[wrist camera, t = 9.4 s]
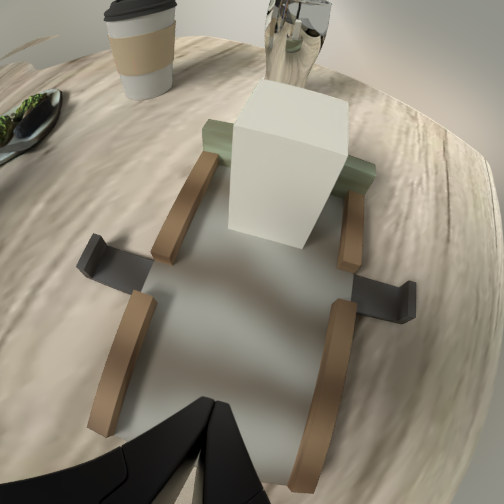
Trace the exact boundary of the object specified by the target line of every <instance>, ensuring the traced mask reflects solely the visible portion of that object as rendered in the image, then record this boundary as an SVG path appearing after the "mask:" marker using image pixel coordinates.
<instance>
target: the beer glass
mask: <svg viewBox="0 0 504 504" xmlns="http://www.w3.org/2000/svg"><path fill="white" fill-rule="evenodd" d="M331 5H332V3H330V2H329V1H327V0H270V3H269V7H268V12H267V17H266V23H265V53H266V74H265V78H264V79H265V80H270V81H275V82H279V83H284V84H288V85H292V86H296V87H300V88H304V89H306V83H307V79H308V76H309V73H310V71H311V69H312V67H313V65H314V63H315V61H316V59H317V57H318V55H319V53H320V50H321V48H322V45H323V43H324V40H325V37H326V33H327V29H328V24H329V18H330V11H331Z"/></svg>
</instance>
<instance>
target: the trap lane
mask: <svg viewBox="0 0 504 504" xmlns="http://www.w3.org/2000/svg"><path fill="white" fill-rule="evenodd" d="M233 125H234V124H232V123H227V122H222V121H217V120H211V119H208V121H207V122H206V124H205V125H204V127H203V128H202V137H203V152H202V153H201V155H200V157H199V159H198V160H197V162H196V164H195V166H194V167H193V169H192V171H191V173H190V175H189V176H188V178H187V180H186V182H185V184H184V186H183V187H182V189H181V191H180V193H179V195H178V197H177V199H176V201H175V203H174V205H173V206H172V208H171V210H170V212H169V214H168V216H167V218H166V220H165V222H164V224H163V226H162V228H161V230H160V233H159V235H158V237H157V239H156V241H155V243H154V245H153V247H152V249H151V254H152V256H153V258H154V261H152V260H149V259H146V258H143V257H140V256H137V255H134V254H131V253H128V252H125V251H122V250H119V249H116V248H113V247H110V246H107V244H106V243H105V241H104V240H103V238H102V237H101V236H100V235H97V234H94V233H93V235H92V236H91V238H90V240H89V242H88V244H87V246H86V248H85V250H84V252H83V254H82V255H81V257H80V259H79V261H78V264H77V266H76V267H77V268H78V269H79V270H80V271H81V272H82V273H83V274H84V275H85V276H86V277H87V278H90V279H92V280H94V281H97V282H99V283H102V284H104V285H107V286H109V287H112V288H114V289H117V290H119V291H122V292H124V293H127V294H130V295H131V297H130V300H129V302H128V305H127V307H126V310H125V312H124V315H123V317H122V320H121V323H120V325H119V328H118V330H117V333H116V336H115V339H114V341H113V344H112V347H111V350H110V353H109V355H108V358H107V361H106V364H105V367H104V370H103V373H102V376H101V380H100V383H99V386H98V389H97V393H96V396H95V399H94V403H93V406H92V410H91V413H90V417H89V421H88V425H87V428H89V429H91V430H93V431H95V432H96V433H98V434H100V435H102V436H104V437H106V438H107V437H110V436H113V435H115V436H117V437H119V438H121V439H124V440H126V441H128V442H129V441H130V440H132V439H134V438H136V437H137V436H139V435H141V434H142V433H144V432H146V431H148V430H149V429H151V428H153V427H154V426H156V425H157V424H159V423H161V422H162V421H164V420H166V419H167V418H169V417H170V416H172V415H173V414H175V413H177V412H178V411H180V410H181V409H183V408H184V407H186V406H187V405H189V404H190V403H192V402H193V401H195V400H196V399H198V398H199V397H201V396H205V397H209V398H212V399H214V400H215V401H217V400H219V401H222V402H226V403H229V404H230V406H231V409H232V412H233V415H234V417H235V420H236V423H237V425H238V428H239V430H240V433H241V436H242V438H243V441H244V443H245V446H246V448H247V451H248V453H249V456H250V458H251V460H252V463H253V465H254V468H255V470H256V472H257V475H258V477H259V479H260V481H261V482H265V483H271V484H278V485H286V486H288V488H289V489H290V490H291V492H297V493H310V494H314V492H315V489H316V486H317V483H318V480H319V477H320V474H321V471H322V468H323V465H324V462H325V458H326V455H327V452H328V448H329V445H330V441H331V437H332V434H333V430H334V426H335V422H336V418H337V414H338V410H339V406H340V401H341V397H342V392H343V388H344V383H345V378H346V373H347V368H348V362H349V357H350V351H351V345H352V339H353V332H354V325H355V318H356V314H361V315H365V316H369V317H373V318H377V319H381V320H386V321H390V322H394V323H399V324H404V323H406V322H408V321H410V320H412V319H414V318H416V282H412V281H407V282H406V283H405V284H403V285H402V286H400V287H399V288H398V287H395V286H391V285H388V284H384V283H381V282H377V281H374V280H370V279H367V278H363V277H360V276H356V275H354V273H355V272H356V271H357V270H358V269H359V268H360V267H361V261H362V246H363V227H364V195H365V193H366V192H367V190H368V188H369V187H370V185H371V184H372V182H373V180H374V179H375V177H376V167H375V164H372V163H370V162H367V161H364V160H361V159H359V158H356V157H353V156H350V155H348V157H347V159H346V161H345V164H344V166H343V168H342V170H341V172H340V174H339V176H338V178H337V180H336V183H335V185H334V187H333V189H332V191H331V193H330V195H329V197H328V199H327V201H326V203H325V205H324V207H323V209H322V211H321V213H320V215H319V217H318V219H317V221H316V223H315V225H314V227H313V229H312V231H311V233H310V235H309V237H308V239H307V241H306V243H305V245H304V247H303V249H299V248H296V247H292V246H289V245H285V244H282V243H278V242H275V241H271V240H267V239H264V238H260V237H256V236H253V235H249V234H246V233H242V232H238V231H235V230H231V229H228V218H229V196H230V175H231V157H232V140H233ZM200 451H201V450H200ZM199 454H200V453H199ZM198 458H199V456H198ZM197 463H198V459H197V461H196V463H195V465H194V466H195V467H197Z"/></svg>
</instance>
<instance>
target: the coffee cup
mask: <svg viewBox="0 0 504 504" xmlns="http://www.w3.org/2000/svg"><path fill="white" fill-rule="evenodd" d="M176 5H177V3H176V2H175V0H116V1H114V2H112V3H111V6H110V8H109V9H108V10H107V11H105V13H104V16H105V18H104V21H106V24H107V28H108V33H109V35H108V37H109V41H110V45H111V49H112V53H113V57H114V60H115V64H116V67H117V71H118V73H119V74H120V78H121V81H122V85H123V88H124V92H125V95H126V97H127V98H129V99H132V100H146V99H150V98H154V97H157V96H159V95H162V94H164V93H165V92H167V91H168V90H169V89H170V88H171V87H172V70H173V60H174V43H175V25H176V24H175V23H176V21H175V20H174V17H175V6H176Z"/></svg>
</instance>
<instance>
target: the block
mask: <svg viewBox="0 0 504 504" xmlns="http://www.w3.org/2000/svg"><path fill="white" fill-rule="evenodd" d="M347 157H348V102H347V101H344V100H341V99H338V98H335V97H331V96H328V95H325V94H322V93H318V92H315V91H311V90H307V89H304V88H300V87H296V86H292V85H288V84H284V83H279V82H275V81H270V80H265V79H260V81H259V82H258V84H257V86H256V87H255V89H254V91H253V92H252V94H251V96H250V97H249V99H248V101H247V102H246V104H245V106H244V108H243V109H242V111H241V113H240V115H239V116H238V118H237V120H236V122H235V124H234V125H233V140H232V157H231V175H230V196H229V218H228V229H231V230H235V231H238V232H242V233H246V234H249V235H253V236H256V237H260V238H264V239H267V240H271V241H275V242H278V243H282V244H285V245H289V246H292V247H296V248H299V249H303V247H304V245H305V243H306V241H307V239H308V237H309V235H310V233H311V231H312V229H313V227H314V225H315V223H316V221H317V219H318V217H319V215H320V213H321V211H322V209H323V207H324V205H325V203H326V201H327V199H328V197H329V195H330V193H331V191H332V189H333V187H334V185H335V183H336V180H337V178H338V176H339V174H340V172H341V170H342V168H343V166H344V164H345V161H346V159H347Z"/></svg>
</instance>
